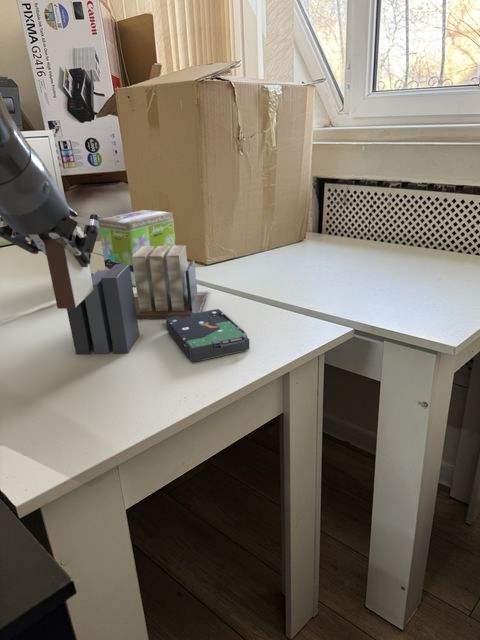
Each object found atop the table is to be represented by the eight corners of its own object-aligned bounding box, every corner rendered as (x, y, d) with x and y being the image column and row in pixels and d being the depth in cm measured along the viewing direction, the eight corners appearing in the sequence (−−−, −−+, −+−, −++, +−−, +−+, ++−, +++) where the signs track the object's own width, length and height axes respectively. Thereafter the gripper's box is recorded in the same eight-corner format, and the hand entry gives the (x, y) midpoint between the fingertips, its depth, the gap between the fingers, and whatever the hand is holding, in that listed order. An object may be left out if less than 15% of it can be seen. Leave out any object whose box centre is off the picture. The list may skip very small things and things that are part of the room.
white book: (75, 308, 70) (59, 228, 66) (57, 308, 70) (40, 229, 66) (94, 289, 78) (81, 216, 73) (78, 289, 78) (64, 217, 73)
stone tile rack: (85, 320, 98) (74, 260, 93) (102, 301, 108) (93, 245, 103) (198, 318, 97) (193, 257, 92) (205, 299, 107) (201, 243, 102)
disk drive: (166, 332, 92) (191, 363, 80) (164, 318, 91) (190, 347, 79) (219, 321, 96) (251, 350, 84) (218, 307, 95) (250, 334, 82)
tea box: (136, 287, 116) (127, 222, 110) (106, 281, 121) (95, 218, 115) (179, 270, 128) (173, 210, 121) (150, 265, 133) (142, 208, 126)
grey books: (128, 353, 84) (116, 277, 79) (75, 354, 84) (60, 278, 79) (139, 334, 91) (129, 263, 86) (91, 335, 92) (78, 264, 86)
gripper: (82, 157, 59) (125, 238, 75) (-35, 160, 59) (32, 240, 76) (74, 212, 56) (120, 284, 73) (-48, 215, 57) (24, 285, 73)
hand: (75, 261), depth 74 cm, fingers closed on white book, 2 cm apart
